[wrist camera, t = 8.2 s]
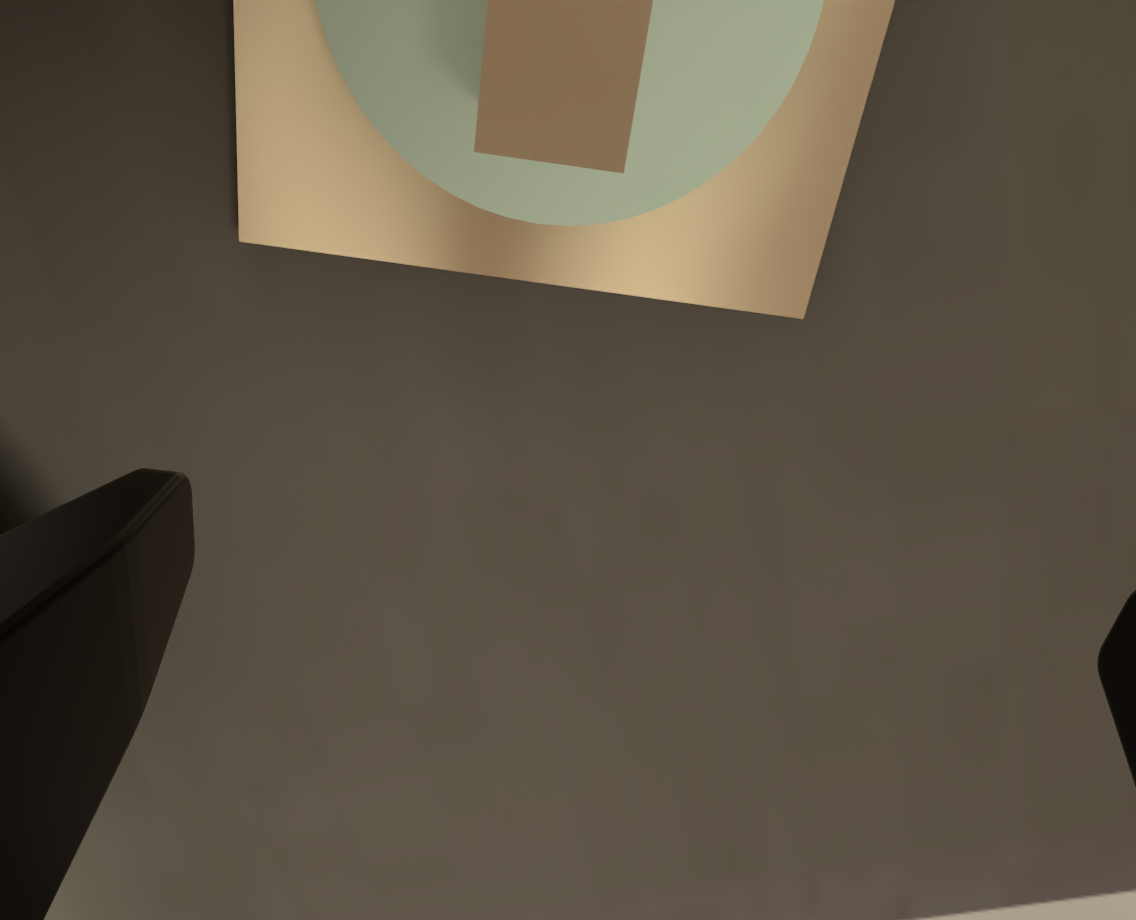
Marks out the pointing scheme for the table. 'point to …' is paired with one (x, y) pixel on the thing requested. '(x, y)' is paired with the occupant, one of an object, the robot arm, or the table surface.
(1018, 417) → the table surface
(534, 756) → the table surface
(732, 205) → the mat
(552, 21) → the cover
